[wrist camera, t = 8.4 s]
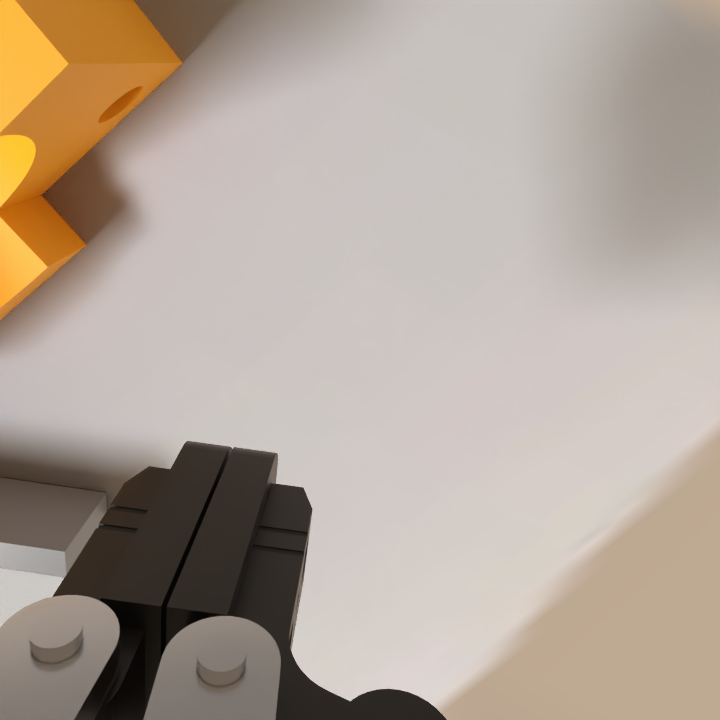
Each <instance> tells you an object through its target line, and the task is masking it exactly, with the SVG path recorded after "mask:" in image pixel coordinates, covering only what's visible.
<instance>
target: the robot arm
mask: <svg viewBox="0 0 720 720" xmlns="http://www.w3.org/2000/svg"><path fill="white" fill-rule="evenodd" d="M277 464H278V454H277V453H272V452H265V451H257V450H250V449H243V448H236V447H234V448H233V449H232V448H231V447H228V446H220V445H213V444H206V443H199V442H192V441H187V442H186V443H185V444H184V445H183V447H182V449H181V451H180V453H179V455H178V456H177V458H176V460H175V462H174V464H173V466H172V467H171V469H164V468H157V467H150V466H149V467H148V468H146V469H145V470H143V471H142V472H140V473H139V474H137V475H136V476H134V477H133V478H131V479H130V480H129V481H127V482H126V483H124V485H123V486H122V488H121V490H120V491H119V493H118V494H117V496H116V497H115V499H114V501H113V502H112V504H111V507H110V510H107V512H106V513H105V515H104V516H103V518H102V520H101V521H100V523H99V527H98V528H96V529H95V531H94V532H93V534H92V535H91V537H90V538H89V540H88V542H87V543H86V545H85V546H84V548H83V550H82V551H81V553H80V554H79V556H78V557H77V559H76V561H75V562H74V564H73V565H72V567H71V568H70V570H69V572H68V573H67V575H66V576H65V578H64V579H63V581H62V583H61V584H60V586H59V587H58V589H57V590H56V592H55V594H54V595H53V597H51V598H47V599H43V600H41V601H38V602H35V603H33V604H31V605H29V606H27V607H25V608H23V609H22V610H20V611H18V612H17V613H15V614H14V615H13V616H12V617H10V618H9V619H8V620H7V621H6V622H5V623H4V624H3V625H2V626H1V627H0V720H446V718H445V717H444V716H443V715H442V714H441V713H440V712H439V711H438V710H437V709H436V708H435V707H434V706H432V705H431V704H430V703H429V702H427V701H425V700H424V699H422V698H420V697H418V696H416V695H414V694H411V693H409V692H405V691H401V690H394V689H380V690H374V691H370V692H367V693H364V694H362V695H360V696H358V697H356V698H355V699H353V700H352V701H351V702H350V701H348V700H346V699H344V698H342V697H340V696H337V695H335V694H333V693H331V692H329V691H327V690H325V689H323V688H322V687H320V686H318V685H317V684H315V683H314V682H313V681H311V680H310V679H309V678H308V677H307V676H306V675H305V674H304V673H303V672H302V671H301V669H300V668H299V666H298V665H297V663H296V661H295V659H294V657H293V655H292V652H291V647H292V642H293V636H294V630H295V625H296V619H297V614H298V607H299V602H300V597H301V591H302V585H303V579H304V571H305V563H306V555H307V547H308V540H309V532H310V524H311V516H312V507H311V505H310V502H309V500H308V498H307V495H306V493H305V491H304V488H302V487H295V486H288V485H280V484H276V475H277Z"/></svg>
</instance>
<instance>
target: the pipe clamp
mask: <svg viewBox="0 0 720 720" xmlns="http://www.w3.org/2000/svg"><path fill="white" fill-rule="evenodd" d="M181 64H183V63H182V61H181V60H180V59H179V57H178V56H177V55H176V54H175V52H174V51H173V50H172V49H171V47H170V46H169V45H168V44H167V42H166V41H165V40H164V38H163V37H162V36H161V35H160V33H159V32H158V31H157V30H156V28H155V27H154V26H153V24H152V23H151V22H150V21H149V19H148V18H147V17H146V16H145V14H144V13H143V12H142V10H141V9H140V8H139V7H138V5H137V4H136V3H135V2H134V0H0V320H1V319H2V318H3V317H5V316H6V315H7V314H8V313H9V312H10V311H12V310H13V309H14V308H15V307H16V306H17V305H18V304H20V303H21V302H22V301H23V300H24V299H25V298H26V297H28V296H29V295H30V294H31V293H32V292H33V291H34V290H36V289H37V288H38V287H39V286H40V285H41V284H42V283H44V282H45V281H46V280H47V279H48V278H49V277H50V276H52V275H53V274H54V273H55V272H56V271H57V270H59V269H60V268H61V267H62V266H63V265H64V264H65V263H67V262H68V261H69V260H70V259H71V258H72V257H73V256H75V255H76V254H77V253H78V252H79V251H80V250H81V249H83V248H84V247H85V246H86V244H85V243H84V241H83V240H82V239H81V238H80V237H79V236H78V235H77V234H76V233H75V232H74V231H73V229H72V228H71V227H70V226H69V225H68V224H67V223H66V222H65V221H64V220H63V219H62V217H61V216H60V215H59V214H58V213H57V212H56V211H55V210H54V209H53V208H52V206H51V205H50V204H49V203H48V202H47V201H46V200H45V199H44V198H43V197H42V196H41V195H42V194H43V193H44V192H45V191H46V190H47V189H48V188H50V187H51V186H52V185H53V184H54V183H55V182H56V181H57V180H58V179H59V178H60V177H61V176H62V175H63V174H65V173H66V172H67V171H68V170H69V169H70V168H71V167H72V166H73V165H74V164H75V163H76V162H77V161H79V160H80V159H81V158H82V157H83V156H84V155H85V154H86V153H87V152H88V151H89V150H90V149H91V148H92V147H94V146H95V145H96V144H97V143H98V142H99V141H100V140H101V139H102V138H103V137H104V136H105V135H106V134H107V133H109V132H110V131H111V130H112V129H113V128H114V127H115V126H116V125H117V124H118V123H119V122H120V121H121V120H122V119H124V118H125V117H126V116H127V115H128V114H129V113H130V112H131V111H132V110H133V109H134V108H135V107H136V106H137V105H139V104H140V103H141V102H142V101H143V100H144V99H145V98H146V97H147V96H148V95H149V94H150V93H151V92H153V91H154V90H155V89H156V88H157V87H158V86H159V85H160V84H161V83H162V82H163V81H164V80H165V79H166V78H168V77H169V76H170V75H171V74H172V73H173V72H174V71H175V70H176V69H177V68H178V67H179V66H180V65H181Z"/></svg>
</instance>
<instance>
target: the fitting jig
mask: <svg viewBox="0 0 720 720" xmlns="http://www.w3.org/2000/svg"><path fill="white" fill-rule="evenodd" d="M106 512H107V497H106V493H104V492H97V491H90V490H84V489H77V488H70V487H63V486H56V485H49V484H42V483H36V482H29V481H22V480H15V479H8V478H1V477H0V568H3V569H10V570H17V571H24V572H31V573H37V574H44V575H51V576H58V577H65V576H66V575H67V573H68V572H69V570H70V568H71V567H72V565H73V564H74V562H75V561H76V559H77V557H78V556H79V554H80V553H81V551H82V550H83V548H84V546H85V545H86V543H87V542H88V540H89V538H90V537H91V535H92V534H93V532H94V531H95V529H96V528H98V527H99V523H100V521H101V520H102V518H103V516H104V515H105V513H106Z"/></svg>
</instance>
